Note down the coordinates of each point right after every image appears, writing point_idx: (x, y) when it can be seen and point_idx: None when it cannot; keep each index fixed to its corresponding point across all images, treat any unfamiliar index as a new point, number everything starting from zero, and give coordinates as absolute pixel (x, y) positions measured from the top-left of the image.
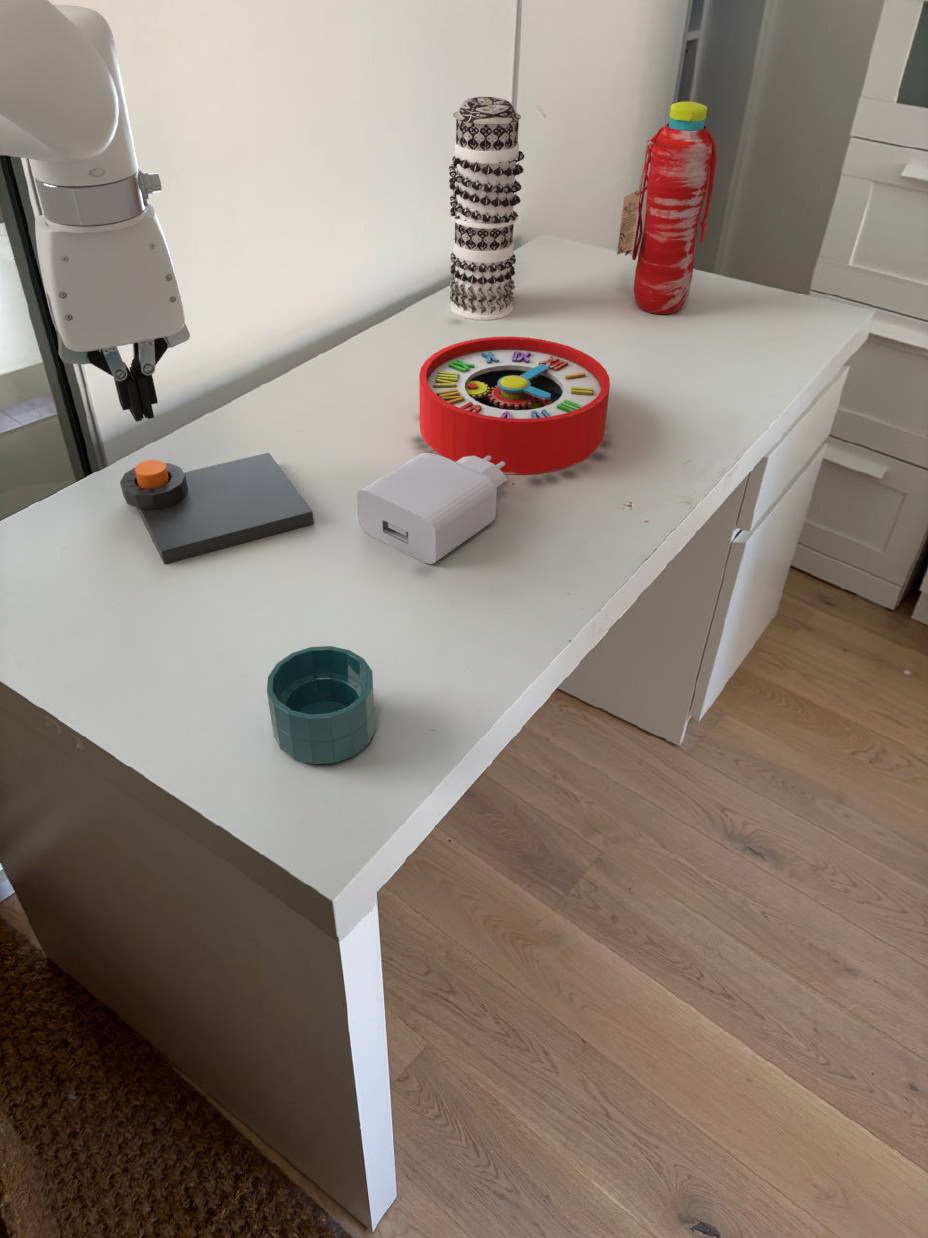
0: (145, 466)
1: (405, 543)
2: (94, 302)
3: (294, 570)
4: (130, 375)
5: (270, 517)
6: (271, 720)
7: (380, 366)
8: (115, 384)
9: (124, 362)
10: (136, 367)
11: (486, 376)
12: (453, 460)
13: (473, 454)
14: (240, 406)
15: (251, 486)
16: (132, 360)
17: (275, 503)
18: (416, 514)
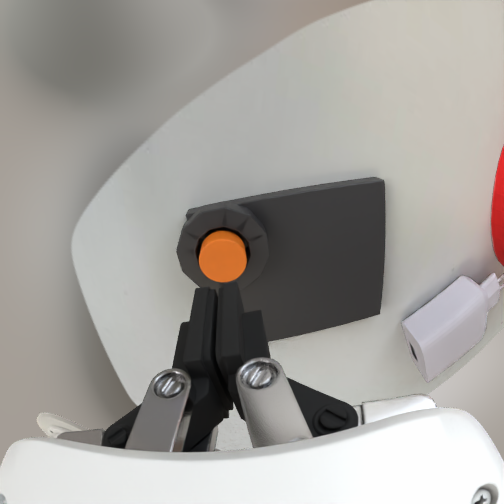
0: (215, 258)
1: (412, 353)
2: None
3: (332, 358)
4: (222, 407)
5: (342, 317)
6: None
7: (488, 34)
8: (175, 353)
9: (206, 393)
10: (242, 418)
11: None
12: (492, 236)
13: (502, 255)
14: (360, 15)
15: (343, 257)
16: (231, 392)
17: (355, 295)
18: (427, 378)
